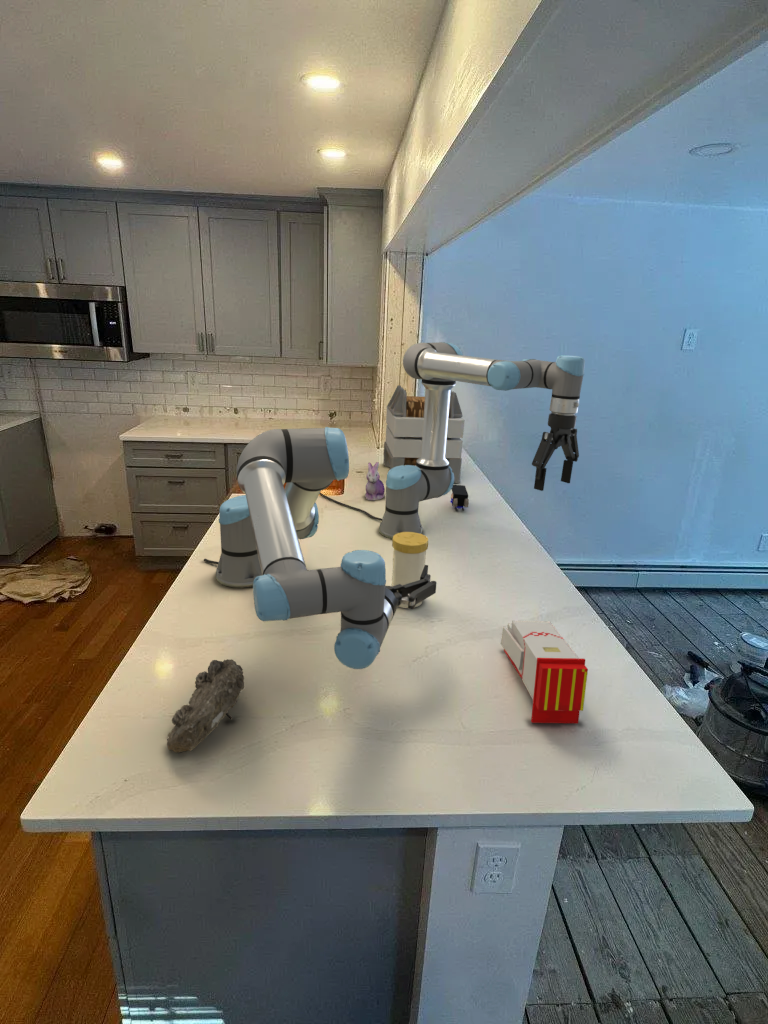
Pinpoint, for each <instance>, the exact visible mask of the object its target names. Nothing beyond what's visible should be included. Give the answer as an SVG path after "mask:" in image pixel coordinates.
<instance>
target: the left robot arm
mask: <svg viewBox="0 0 768 1024" xmlns="http://www.w3.org/2000/svg"><path fill="white" fill-rule="evenodd" d="M347 442H348V441H347V439H346V435H345V433H344V430H342V429H340V428H339V427H329V426H325V427H319V428H318V427H314V428H313V427H312V428H310V427H309V428H273V429H270V430H265V431H263V432H261V433H259V434H258V435H256V436H254V438H252V439H251V440H250V441H249V442H248V443H247V444H246V446H245V447H244V448H243V449H242V452H241V453H240V456H239V457H238V460H237V465H236V470H235V471H236V472H235V473H236V480H237V484H238V487H239V489H240V491H241V492H242V493H243V494H244V495H243V494H242V495H238V496H234V497H231V498H228V499H226V500H225V501H224V502H222V504H220V506H219V509H218V510H219V512H218V514H219V516H218V517H219V518H218V523H219V534H220V556H219V560H218V561H216V560H210V559H207V558H204V559H203V561H204V562H206V563H208V564H212V565H217V567H216V570H215V579H216V580H217V582H218V583H219V584H220V585H222V586H225V587H228V588H233V589H234V588H235V589H244V588H245V589H246V588H251V587H252V596H253V602H254V603H253V605H254V611H255V615H256V618H257V619H259V621H262V622H275V621H276V622H277V621H288V620H290V619H298V618H304V617H311V616H317V615H327V614H333V613H340V631H339V632H338V633H337V635H336V637H335V641H334V644H333V648H334V649H333V650H334V654H335V656H336V658H337V660H338V662H340V663H341V664H342V666H345V667H346V668H349V669H353V670H362V669H363V670H364V669H366V668H368V667H369V666H371V665H372V664H373V663H374V661H375V660H376V658H377V656H378V655H379V654H380V652H381V647H382V645H383V643H384V640H385V638H386V635H387V633H388V630H389V628H390V625H391V623H392V621H393V619H394V616H395V614H396V611H397V609H398V607H399V605H401V604H406V605H408V608H407V609H409V610H413V609H415V608H416V607H415V606H416V604H418V603H420V602H421V601H422V602H423V601H424V600H427V599H428V598H430V597H431V596H433V595H435V594H436V592H437V581H436V580H431V577H432V576H431V574H429V564H425V566H424V569H423V571H422V574H421V576H420V580H418V581H415V582H412V583H408V584H405V585H401V584H398V585H395V586H392V585H386V584H387V579H386V576H387V574H386V570H387V569H386V561H385V559H384V557H383V556H381V554H379V553H377V552H375V551H373V550H367V549H355V550H353V551H351V552H350V551H349V552H346V553H345V554H343V556H342V558H341V562H340V566H335V567H326V568H318V569H317V568H316V569H308V568H307V564H306V561H305V558H304V554H303V550H302V547H301V544H300V540H305V539H309V538H312V537H314V536H315V535H316V533H317V531H318V527H319V521H320V514H319V507H318V505H317V500H318V498H319V495H320V493H321V492H322V491H323V490H326V489H327V488H328V487H330V486H331V484H332V483H333V481H335V480H336V481H338V482H340V481H342V480H346V479H347V478H348V477H349V473H350V459H349V457H350V456H349V449H348V443H347ZM307 569H308V570H307ZM397 590H398V591H397Z"/></svg>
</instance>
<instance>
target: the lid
mask: <svg viewBox="0 0 768 1024" xmlns="http://www.w3.org/2000/svg"><path fill="white" fill-rule="evenodd" d="M391 540H392V541H391V547H392V548H393V550H394V549H395V550H397V551H399V552H403V553H409V554H416V553H422V552H424V551H426V552H427V550H428V549H429V538H428V537H427V536H426V535H425V534H423V533H422V534H420V533H415V532H401V533H397V534H395V535H394V536H393V539H391Z"/></svg>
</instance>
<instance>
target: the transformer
mask: <svg viewBox="0 0 768 1024" xmlns="http://www.w3.org/2000/svg"><path fill="white" fill-rule="evenodd" d="M407 394H408V393H407V390H406V389H404V388H403V387H402V385H399V384H398V385H397V386H396V388H395V390H394V392H393V394H392V395H391V398H390V400H389V402H388V404H387V405H386V413H385V414H386V415H385V423H386V428H385V438H384V442H383V466H384V467H388V468H389V470H390V469H392V468H394V467H396V466H401V465H404V466H405V465H413V466H416V461H417V459H418V458H420V457H421V449H422V434H423V419H424V404H425V396H415V395H414V396H413V395H412V396H411V395H407ZM464 429H465V419H464V418H463V411H462V408H461V405H460V402H459V398H458V395H457V392H455V391H453V390H451V392H450V404H449V416H448V428H447V441H446V453H445V458H446V459H447V461H448V462H449V466H450V467H451V469H452V473H454V484H455V483H456V484H459V483H461V472H462V461H463V460H462V453H463V442H464V441H463V440H462V439H463V438H464V431H465V430H464Z"/></svg>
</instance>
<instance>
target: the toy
mask: <svg viewBox="0 0 768 1024" xmlns="http://www.w3.org/2000/svg"><path fill="white" fill-rule="evenodd" d="M500 645H501V646H502V648H503V652H504V654H505V655H506V657H507V658H508V660H509V661H510V663H511V664H512V666H513V668H514V669H515V671H516V672H517V674H518V676H519V677H520V679H521V680H522V683H523V685H524V686H525V688H526V690H527V692H528V694H529V696H530V697H531V699H532V708H531V719H530V722H531V723H532V724H579V719H580V712H583V711H584V706H585V697H586V689H587V680H588V671H589V669H588V667H587V666H586V659H585V658H580V657H579V656H578V655H577V654H576V652H575V651H574V650H573V648H572V647H571V646H570V645H569V644H568V642H567V641H566V640H565V638H564V637H563V636H562V634H561V633H560V632H559V631H558V630H557V628H556V627H555V626H554V624H553V623H552V622H551V621H549V620H548V621H545V620H540V621H539V620H511V622H508V623H507V626H502V632H501V638H500Z"/></svg>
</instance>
